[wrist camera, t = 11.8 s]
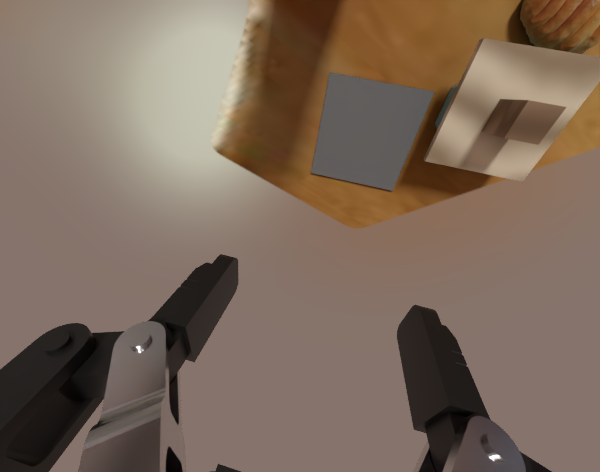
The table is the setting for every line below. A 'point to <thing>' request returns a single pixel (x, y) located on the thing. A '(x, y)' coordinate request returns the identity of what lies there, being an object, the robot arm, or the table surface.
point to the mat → (367, 130)
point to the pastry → (562, 24)
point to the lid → (511, 107)
